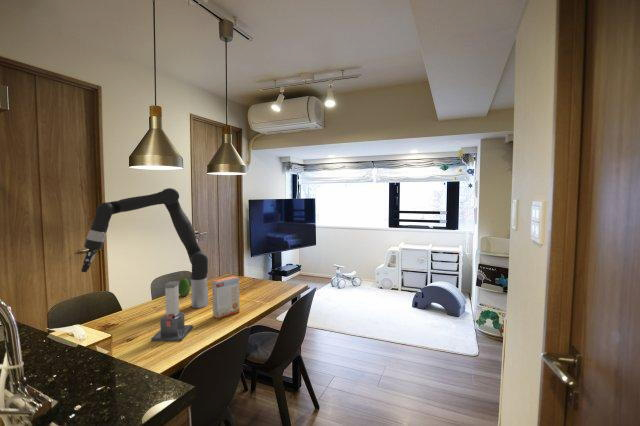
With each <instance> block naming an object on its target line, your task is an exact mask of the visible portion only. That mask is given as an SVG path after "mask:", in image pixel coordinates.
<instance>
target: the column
mask: <svg viewBox="0 0 640 426" xmlns="http://www.w3.org/2000/svg"><path fill="white" fill-rule="evenodd" d="M179 283H180V280H178V281H177V280H173V281H170V280H169V281H168V282H167V283H165V284H163V285H164V286H163V288H164V291H165V292H164V293H165V295H164V296H165V314H166V316H168V315H173V317H177V316H178V315H179V312H180V306H179V305H180V298H179V297H180V294H179V289H178V286H179Z"/></svg>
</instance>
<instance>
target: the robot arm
mask: <svg viewBox="0 0 640 426" xmlns="http://www.w3.org/2000/svg"><path fill="white" fill-rule="evenodd" d="M179 199H180V193H179V191H178V190H176V189H175V188H171V187H169V188H168V187H167V188H165V189H163V190H161V191H159V192H155V193H151V194H146V195H139V196H132V197H127V198H126V197H125V198H121V199H119V200H113V201H107V202H101V203H100V204H98V206H97V207H96V211H95V216H94V219H93V220H92V224H91V226H90V229H89V231H88V233H87V236H86V239H85V241H84V245H83V248H85V249H88V250H87V251H85V256H84V257H83V262H82V267H81V270H80V272H82V273H87V272H88V271H89V269H90V267H91V264H92V262H93V260H94V259H95V256H96V254H97V252H96V251H101V250H102V249H103V245H104V243H105V239H106V236H107V231H108V228H109V224H110V221H111V218H112V216H113V215H116V214H120V213H126V212H130V211H131V212H132V211H135V210H136V211H137V210H140V209H144V208H147V207H151V206H156V205H164V206H165V208H166V210H167V211H168V214H169V216H170V219H171V223H172V224H173V227H174V229H175V232H176V233H177V236H178V238H179V239H180V241H181V243H182V245H183V246H184V249H186V253H187V256H188V259H189V262H190V264H191V274H190V294H191V295H190V301H191V306H190V307H191V308H194V309H201V308H204V307H206V306H208V304H209V288H208V274H209V272H208V271H209V269H208V268H209V263H208V262H209V260H208V257H207V256H208V255H206V254H205V253H204V252H203V251H202V249H201V248H200V246H199V244H198V242H197V236H196V232H195V229H194V227H193V225H192V223H191V220H190V219H189V217H188V216H187V214H186V213H185V212H184V210H183V208H182V207H181V204H180V202H179Z"/></svg>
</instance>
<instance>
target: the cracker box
mask: <svg viewBox="0 0 640 426" xmlns="http://www.w3.org/2000/svg"><path fill="white" fill-rule="evenodd" d="M211 282H212V283H211V285H212V286H211V289H212V316H213V317H214V318H216V319H218V320H219V319H222V318H225V317H228V316H231V315H234V314H237V313H240V312H241V310H240V278H239V277H238V276H235V275H231V276H227V277H222V278H217V279H214V280H213V279H212V281H211Z"/></svg>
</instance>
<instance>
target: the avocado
mask: <svg viewBox="0 0 640 426" xmlns="http://www.w3.org/2000/svg"><path fill="white" fill-rule="evenodd" d="M178 289H179V296H181V297H186V296H188V295H189V294H190V293H191V283H190V281H189V280H188V279H187V278H183V279H181V280H179V285H178Z"/></svg>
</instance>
